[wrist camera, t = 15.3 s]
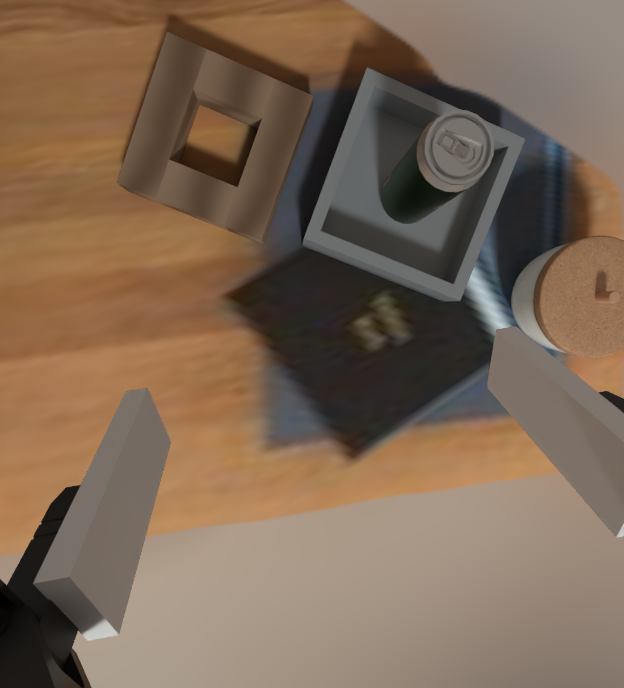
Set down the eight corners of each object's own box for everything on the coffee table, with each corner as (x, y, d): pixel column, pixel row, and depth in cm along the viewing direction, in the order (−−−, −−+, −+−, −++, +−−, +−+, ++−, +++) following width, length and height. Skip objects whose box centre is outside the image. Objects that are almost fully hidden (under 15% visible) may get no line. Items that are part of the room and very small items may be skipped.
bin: (302, 245, 39) (303, 238, 35) (358, 92, 38) (366, 67, 34) (442, 301, 40) (460, 300, 36) (500, 156, 39) (525, 138, 35)
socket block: (128, 191, 37) (116, 182, 34) (175, 50, 36) (166, 31, 34) (263, 244, 38) (261, 239, 36) (311, 110, 37) (313, 95, 35)
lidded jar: (493, 352, 41) (554, 365, 32) (490, 252, 40) (552, 235, 31) (587, 344, 42) (673, 355, 32) (587, 246, 41) (676, 227, 31)
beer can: (369, 209, 38) (407, 163, 26) (394, 160, 37) (445, 90, 25) (415, 235, 38) (473, 202, 26) (440, 187, 38) (511, 131, 26)
